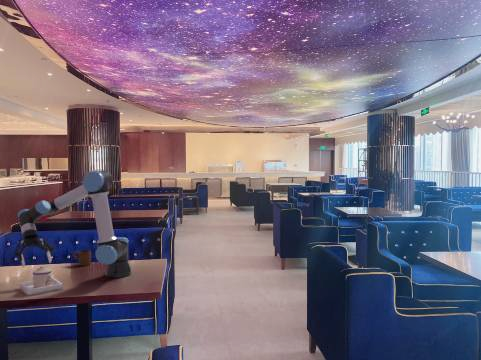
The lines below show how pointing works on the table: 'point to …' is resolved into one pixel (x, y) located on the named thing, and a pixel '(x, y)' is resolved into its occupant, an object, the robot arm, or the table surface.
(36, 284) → the teacup with lid
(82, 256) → the mug
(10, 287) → the table surface
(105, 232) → the robot arm
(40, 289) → the tray
